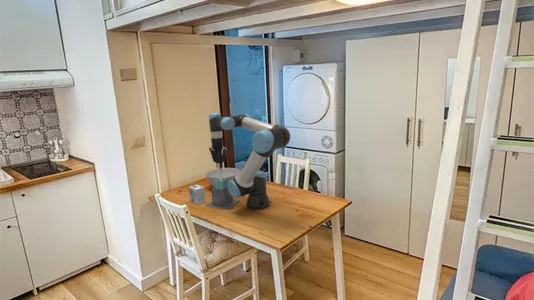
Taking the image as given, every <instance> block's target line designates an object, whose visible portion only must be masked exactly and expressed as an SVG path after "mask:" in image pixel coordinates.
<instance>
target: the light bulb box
mask: <svg viewBox="0 0 534 300" xmlns="http://www.w3.org/2000/svg"><path fill="white" fill-rule="evenodd" d="M188 191H189V199H190V202H192V203H193V202H194V204H195V205H197V204H198V205H200V204H204V203H206V202H207V201H206V200H207V199H206V193H205V191H206V190H205V187H204V186H202V185H199V184H194V185H190V186H188Z"/></svg>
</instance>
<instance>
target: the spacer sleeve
mask: <svg viewBox="0 0 534 300" xmlns="http://www.w3.org/2000/svg"><path fill="white" fill-rule="evenodd" d="M227 183H228V178H223V181H219V178H218V179H216V180H214V185H215V187H214V188H215V189H216V190H225V189H226V188H228V187H227Z"/></svg>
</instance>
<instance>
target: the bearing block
mask: <svg viewBox="0 0 534 300" xmlns="http://www.w3.org/2000/svg"><path fill="white" fill-rule="evenodd" d="M210 191H211V192H210V194H211V201H210V202H208V203H207V204H205V207H206V208H207V207H208V208H215V209H223V210H231V209H232V208H234V207H235V206H236V205H237V204H240V203H241V199H236V198H234V197H232V196H231V195H230V193H229V191H228V188H226V189H225V190H216V189H215V187H214V188H212V189H211V190H210Z"/></svg>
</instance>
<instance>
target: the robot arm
mask: <svg viewBox="0 0 534 300" xmlns="http://www.w3.org/2000/svg"><path fill="white" fill-rule="evenodd" d="M208 122H209V131H210V132H209V133H210V141H211V146H210V147H209V148H208V150H209V151H210V155H211V158H212V161H213V163H215V164H216V169H218V173H222V168H224V165H223V163H225V162H226V155H227V150H228V147H225V146H224V138H223V137H224V135H223V130H225V131H229V130H230V131H231V130H233V129H235V128H236V129H237V128H243V129H246V130H248V131H251V132H253V133H254V134H253V136H252V139H251V142H252V143H251V145H252V152H251V153H250V155H249V156H248V159H247V161H246V162H245V164H244V165H243V167H242V169H241V170H240V171H241V172H239V173H237V174H236V176H235V178H234V179H232V180H229V181H228V183H227V187H228V191H229V193H230V195H231V196H232V197H233V199H238V198H241V197H244V196H246V195H248V196H247V200H246V207H247V208H248V209H250V210H257V211H258V210H264V209H266V208H268V207H270V206H271V201H270V199H269V196H268V193H267V178H266V172H265V171H262V170H260V169H261V167H262V166H263V165H264V162H265V161H266V160H267V158H270V157H272V155H273V154H274V152H275V151H276V150H279V149H282V148H285V147H286V146H287V145H289V143H290V141H291V132H290V130H289V129H288V128H287V127H285V126H283V125H280V124H274V125H273V124H272V123H271V124H270V123H268V122H265V121H261V120H259V119H256V118H253V117H250V115H249V114H247V113H242V114H241V113H240V114H236V115H230V116H222V114H221V113H220V112H214V113H213V112H212V113H210V114H208Z"/></svg>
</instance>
